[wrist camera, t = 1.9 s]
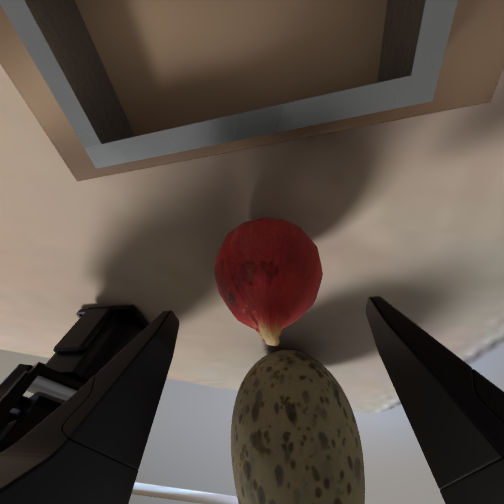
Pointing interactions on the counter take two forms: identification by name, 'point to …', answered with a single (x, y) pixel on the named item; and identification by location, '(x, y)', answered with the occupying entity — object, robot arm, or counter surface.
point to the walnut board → (247, 65)
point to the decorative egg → (295, 435)
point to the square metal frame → (230, 126)
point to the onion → (268, 275)
